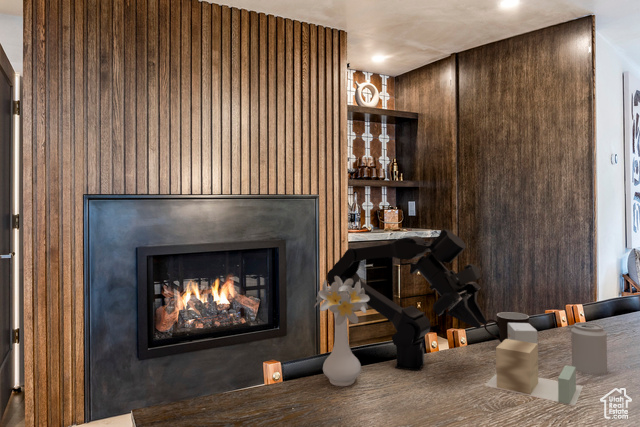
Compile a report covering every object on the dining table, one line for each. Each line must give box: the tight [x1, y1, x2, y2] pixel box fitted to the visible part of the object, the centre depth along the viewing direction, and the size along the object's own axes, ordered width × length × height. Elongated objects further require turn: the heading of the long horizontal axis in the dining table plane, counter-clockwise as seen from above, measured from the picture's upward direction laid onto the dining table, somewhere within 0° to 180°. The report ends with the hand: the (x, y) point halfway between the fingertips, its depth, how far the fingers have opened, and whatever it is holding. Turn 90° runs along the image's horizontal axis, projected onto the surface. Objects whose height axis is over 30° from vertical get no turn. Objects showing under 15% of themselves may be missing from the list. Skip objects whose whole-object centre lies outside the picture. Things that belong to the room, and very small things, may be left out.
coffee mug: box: [483, 311, 530, 343], centre depth 128 cm, size 12×9×10 cm
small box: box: [508, 323, 539, 344], centre depth 114 cm, size 8×6×10 cm
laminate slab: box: [484, 373, 584, 407], centre depth 99 cm, size 18×12×1 cm, turn 52°
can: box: [570, 321, 608, 376], centre depth 109 cm, size 8×8×12 cm
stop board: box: [557, 365, 577, 405], centre depth 94 cm, size 2×9×5 cm, turn 142°
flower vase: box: [313, 276, 370, 387], centre depth 106 cm, size 13×18×25 cm
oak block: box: [495, 339, 539, 394], centre depth 100 cm, size 7×8×9 cm
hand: (482, 325), depth 105 cm, fingers open, 4 cm apart
